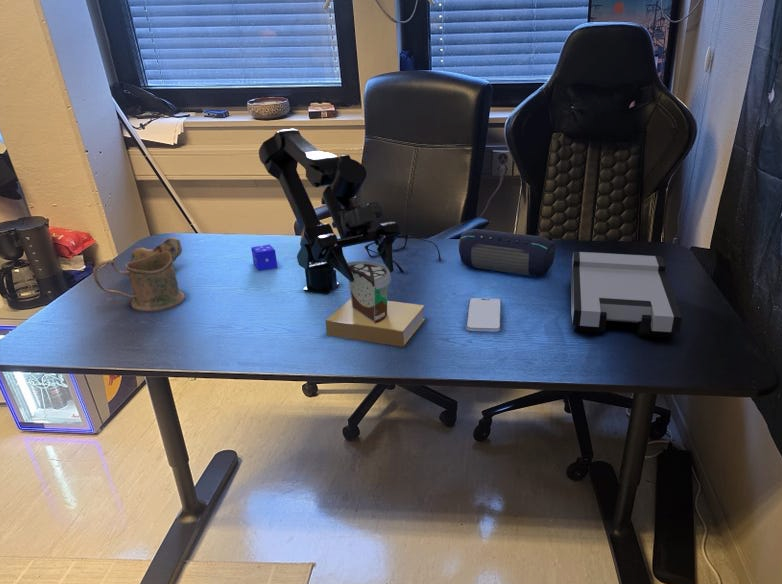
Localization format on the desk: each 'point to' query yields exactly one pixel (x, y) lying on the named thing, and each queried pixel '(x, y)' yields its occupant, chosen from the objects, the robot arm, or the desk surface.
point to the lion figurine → (159, 250)
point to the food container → (369, 289)
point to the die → (264, 257)
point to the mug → (150, 282)
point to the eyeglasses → (399, 249)
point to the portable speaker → (506, 252)
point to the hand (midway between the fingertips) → (372, 276)
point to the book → (377, 324)
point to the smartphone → (484, 315)
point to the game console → (622, 293)
